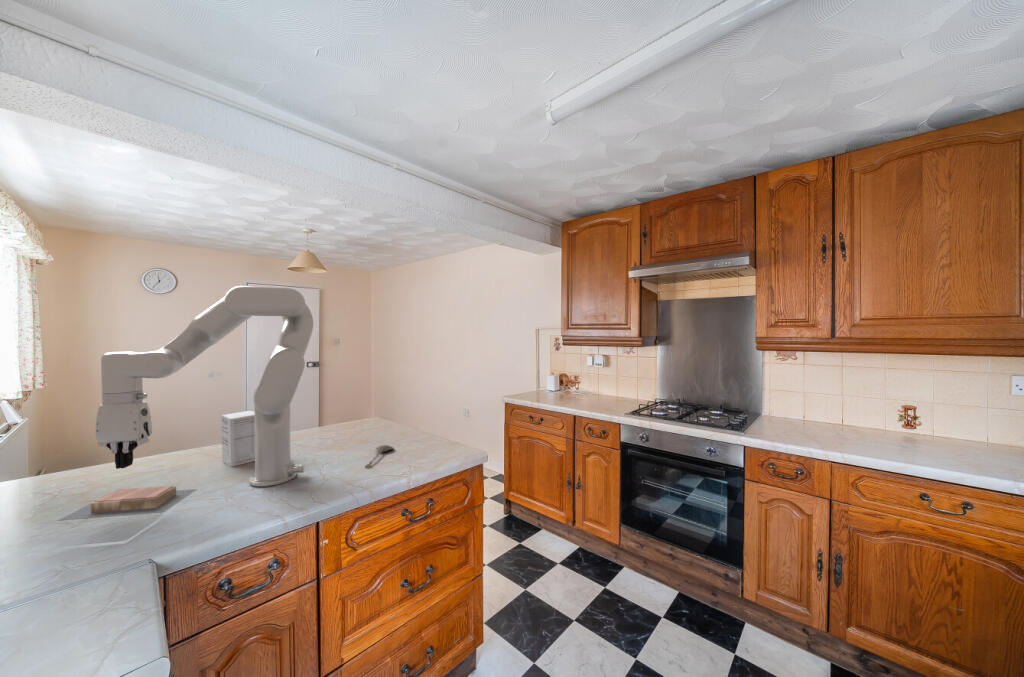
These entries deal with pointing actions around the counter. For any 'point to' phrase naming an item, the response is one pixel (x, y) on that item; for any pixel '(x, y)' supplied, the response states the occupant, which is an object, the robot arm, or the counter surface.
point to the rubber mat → (86, 510)
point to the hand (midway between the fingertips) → (124, 466)
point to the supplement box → (238, 438)
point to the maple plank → (133, 499)
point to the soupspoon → (381, 449)
